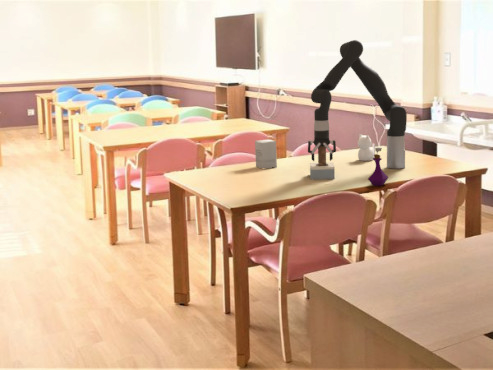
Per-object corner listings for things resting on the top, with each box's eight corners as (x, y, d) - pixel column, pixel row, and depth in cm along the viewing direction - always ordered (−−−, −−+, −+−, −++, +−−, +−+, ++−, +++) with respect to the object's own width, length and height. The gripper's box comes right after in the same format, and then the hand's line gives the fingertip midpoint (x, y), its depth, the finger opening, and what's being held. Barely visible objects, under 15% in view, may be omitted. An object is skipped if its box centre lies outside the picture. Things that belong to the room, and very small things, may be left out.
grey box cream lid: (333, 174, 372) (333, 162, 371) (334, 178, 360) (334, 166, 359) (310, 174, 373) (310, 163, 372) (310, 179, 361) (310, 167, 360)
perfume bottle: (382, 187, 338) (382, 149, 334) (367, 185, 342) (367, 148, 338) (388, 184, 344) (388, 147, 341) (373, 182, 348) (373, 146, 345)
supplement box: (269, 165, 404) (269, 138, 401) (277, 167, 396) (276, 140, 393) (255, 167, 400) (254, 140, 397) (262, 169, 392) (261, 142, 389)
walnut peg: (326, 176, 368) (325, 145, 365) (326, 177, 365) (326, 146, 361) (318, 176, 369) (317, 145, 365) (318, 177, 365) (318, 146, 362)
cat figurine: (353, 160, 409) (353, 134, 406) (368, 157, 417) (368, 132, 413) (365, 162, 402) (364, 136, 399) (380, 159, 410) (380, 133, 406)
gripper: (335, 127, 365) (335, 159, 368) (307, 128, 366) (307, 159, 369) (336, 129, 357) (336, 161, 361) (307, 130, 358) (308, 162, 362)
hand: (322, 160), depth 365 cm, fingers open, 8 cm apart
